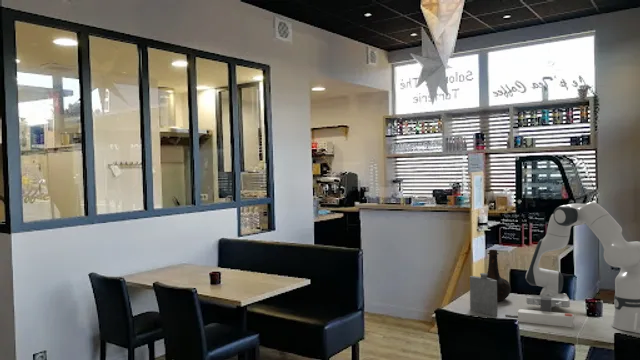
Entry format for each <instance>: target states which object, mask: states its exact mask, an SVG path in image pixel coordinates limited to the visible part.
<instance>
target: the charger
mask: <svg viewBox="0 0 640 360" xmlns="http://www.w3.org/2000/svg"><path fill="white" fill-rule="evenodd" d="M540 311H546V312H552V307H551V298H547V297H541V305H540Z"/></svg>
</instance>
